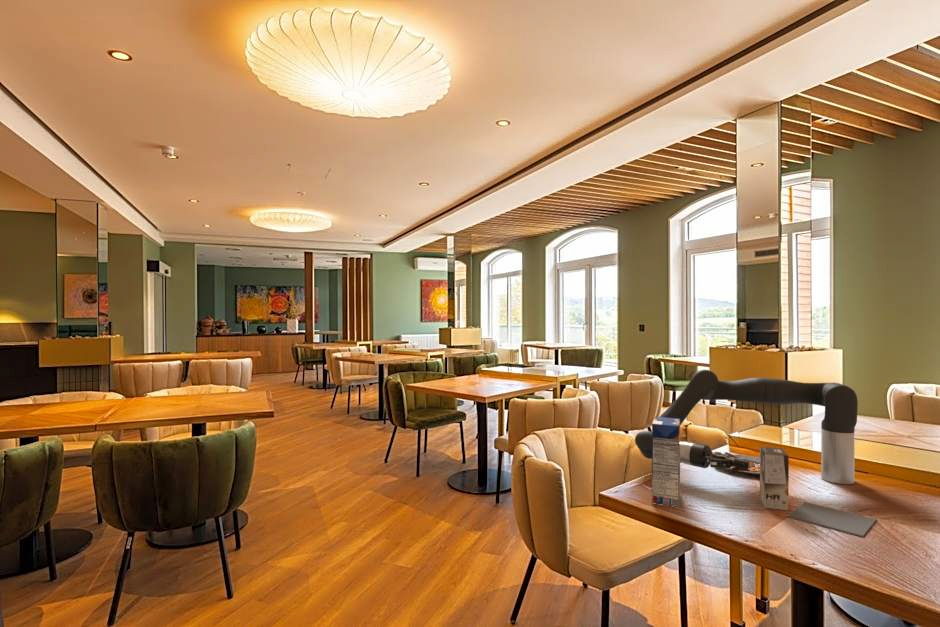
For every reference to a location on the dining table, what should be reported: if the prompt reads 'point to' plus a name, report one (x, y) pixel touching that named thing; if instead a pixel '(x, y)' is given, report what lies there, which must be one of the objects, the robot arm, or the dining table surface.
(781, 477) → the coffee box
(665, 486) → the juice carton
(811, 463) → the dining table surface
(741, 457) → the food plate
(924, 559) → the dining table surface
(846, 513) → the rubber mat
